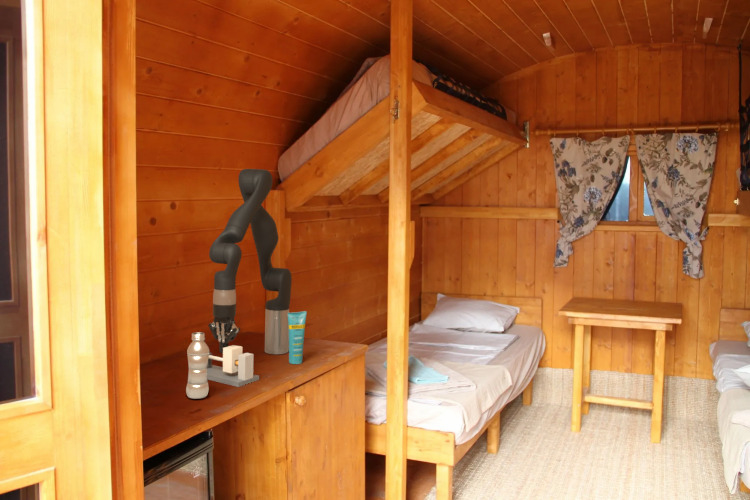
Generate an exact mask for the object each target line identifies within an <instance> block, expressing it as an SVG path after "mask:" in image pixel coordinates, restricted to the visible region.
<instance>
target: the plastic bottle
mask: <svg viewBox="0 0 750 500" xmlns="http://www.w3.org/2000/svg"><path fill="white" fill-rule="evenodd" d="M205 335H206V334H205V332H201V331H199V332H197V331H196V332H192V333H191V340H192V342H190V344H189V346H188V347H187V350H186V352H187V353H186V355H187V363H188V373H187V374H188V375H187V384H186V389H185V392H186V393H185V394H186V395H187V397H188V398H189V399H193V400H194V399H195V400H196V399H204V398H206V397H207V396H208V393H209V389H210V388H209V386H210V385H209V381H208V379H207V364H208V357H209V353H210V348H209V346H208V344H207V343H206V342H205V340H206V337H205Z"/></svg>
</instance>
